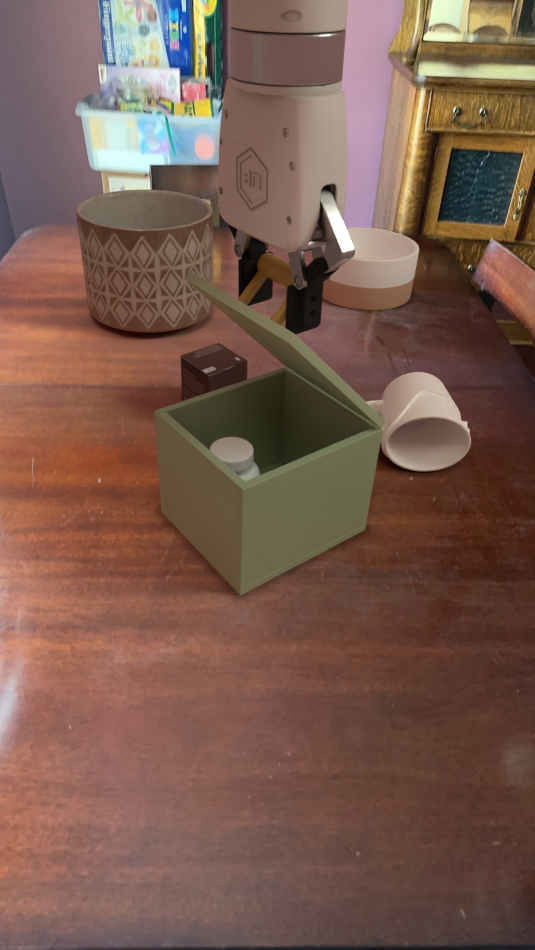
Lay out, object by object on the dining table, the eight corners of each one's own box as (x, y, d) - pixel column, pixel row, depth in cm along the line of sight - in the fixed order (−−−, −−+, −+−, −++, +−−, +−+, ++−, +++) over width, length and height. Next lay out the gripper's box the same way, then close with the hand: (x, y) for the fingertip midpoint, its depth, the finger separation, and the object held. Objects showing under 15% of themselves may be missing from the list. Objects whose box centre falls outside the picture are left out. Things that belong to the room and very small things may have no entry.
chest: (240, 596, 61) (243, 489, 53) (160, 511, 70) (153, 410, 62) (365, 530, 69) (383, 429, 61) (280, 461, 77) (286, 366, 70)
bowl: (411, 315, 111) (420, 265, 106) (307, 304, 113) (312, 255, 108) (410, 277, 125) (418, 231, 120) (318, 268, 126) (322, 222, 121)
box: (219, 392, 89) (219, 341, 85) (247, 412, 85) (249, 360, 81) (181, 406, 86) (178, 354, 81) (208, 427, 82) (207, 374, 78)
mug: (446, 429, 84) (459, 372, 79) (462, 475, 77) (479, 415, 72) (350, 425, 84) (358, 368, 79) (357, 471, 77) (367, 411, 72)
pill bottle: (242, 505, 70) (244, 426, 64) (267, 537, 66) (272, 457, 60) (194, 520, 68) (192, 440, 62) (217, 554, 64) (217, 472, 58)
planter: (65, 328, 102) (48, 216, 92) (126, 283, 117) (118, 183, 107) (182, 352, 98) (178, 237, 88) (230, 302, 112) (232, 199, 102)
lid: (288, 343, 48) (337, 276, 48) (184, 278, 57) (224, 221, 56) (381, 428, 61) (420, 376, 61) (284, 365, 70) (318, 319, 69)
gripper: (170, 49, 48) (184, 291, 59) (329, 86, 37) (310, 371, 49) (255, 43, 52) (253, 272, 63) (422, 75, 41) (384, 343, 52)
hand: (278, 313), depth 56 cm, fingers closed on lid, 5 cm apart
